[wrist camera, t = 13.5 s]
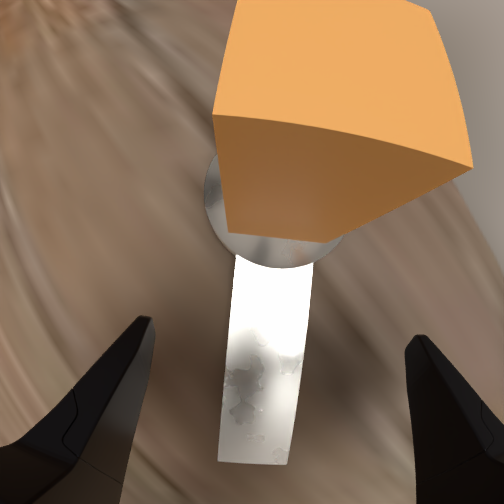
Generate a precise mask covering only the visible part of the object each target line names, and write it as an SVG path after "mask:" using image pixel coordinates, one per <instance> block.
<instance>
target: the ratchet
mask: <svg viewBox="0 0 504 504" xmlns="http://www.w3.org/2000/svg"><path fill="white" fill-rule="evenodd" d="M204 202H205V207H206V212H207V215H208V218H209V221H210V223H211V226H212V228H213V230H214V232H215V234H216V236H217V237H218V239H219V240H220V241H221V243H222V244H223V245H224V246H225V247H226V248H227V250H228V251H230V252H231V253H232V254H233V255H234V256H236V265H235V275H234V285H233V294H232V304H231V314H230V325H229V335H228V346H227V356H226V367H225V378H224V389H223V400H222V412H221V424H220V436H219V448H218V460H217V461H221V462H233V463H247V464H274V465H287V461H288V455H289V450H290V444H291V438H292V432H293V426H294V420H295V413H296V407H297V400H298V394H299V387H300V379H301V372H302V364H303V356H304V348H305V340H306V331H307V322H308V313H309V303H310V293H311V282H312V270H313V262H315V261H317V260H319V259H321V258H323V257H324V256H325V255H327V254H328V253H329V252H331V251H332V250H333V249H334V248H335V247H336V246H337V245H338V244H339V242H340V241H341V239H342V238H343V237H344V235H345V234H344V235H342V236H340V237H338V238H336V239H334V240H332V241H330V242H328V243H326V244H325V243H317V242H308V241H299V240H291V239H282V238H273V237H264V236H255V235H246V234H237V233H228V228H227V221H226V214H225V206H224V199H223V192H222V185H221V177H220V170H219V163H218V155H217V154H216V155H215V157H214V159H213V160H212V162H211V164H210V166H209V169H208V172H207V175H206V179H205V185H204Z"/></svg>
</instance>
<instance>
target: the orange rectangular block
mask: <svg viewBox="0 0 504 504" xmlns="http://www.w3.org/2000/svg"><path fill="white" fill-rule="evenodd" d="M212 116H213V124H214V132H215V140H216V147H217V155H218V163H219V170H220V177H221V185H222V192H223V199H224V206H225V214H226V221H227V228H228V233H237V234H246V235H255V236H264V237H273V238H282V239H291V240H299V241H308V242H317V243H325V244H326V243H328V242H330V241H332V240H334V239H336V238H338V237H340V236H342V235H344V234H346V233H348V232H350V231H352V230H354V229H356V228H358V227H360V226H362V225H364V224H366V223H368V222H370V221H372V220H374V219H376V218H378V217H380V216H382V215H384V214H386V213H388V212H390V211H392V210H394V209H396V208H398V207H400V206H402V205H404V204H406V203H408V202H410V201H412V200H413V199H415V198H417V197H419V196H421V195H423V194H425V193H427V192H429V191H431V190H433V189H435V188H437V187H439V186H441V185H442V184H444V183H446V182H448V181H450V180H452V179H454V178H456V177H458V176H459V175H461V174H463V173H465V172H467V171H469V170H471V169H473V163H472V156H471V150H470V144H469V138H468V133H467V127H466V123H465V118H464V114H463V109H462V105H461V101H460V97H459V94H458V89H457V86H456V82H455V79H454V76H453V72H452V69H451V66H450V63H449V60H448V57H447V54H446V51H445V48H444V45H443V42H442V40H441V37H440V34H439V32H438V29H437V27H436V24H435V22H434V20H433V17H432V15H431V12H430V11H429V10H427V9H425V8H422V7H420V6H418V5H415V4H413V3H410V2H408V1H405V0H238V1H237V5H236V9H235V13H234V17H233V21H232V25H231V29H230V33H229V38H228V42H227V46H226V51H225V55H224V60H223V64H222V69H221V73H220V78H219V83H218V88H217V93H216V98H215V103H214V108H213V113H212Z"/></svg>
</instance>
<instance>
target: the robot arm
mask: <svg viewBox="0 0 504 504" xmlns="http://www.w3.org/2000/svg"><path fill="white" fill-rule="evenodd" d="M154 343H155V328H154V324H153V319H152V318H151V317H149V316H142V315H141V316H139V317H137V318H136V319H135V321H134V322H133V323H132V324H131V325H130V326H129V327H128V328H127V329H126V330H125V331H124V332H123V333H122V334H121V335H120V336H119V338H118V339H117V340H116V341H115V342H114V343H113V344H112V345H111V346H110V347H109V348H108V349H107V351H106V352H105V353H104V354H103V355H102V356H101V357H100V358H99V359H98V360H97V361H96V362H95V364H94V365H93V366H92V367H91V368H90V369H89V370H88V371H87V372H86V374H85V375H84V376H83V377H82V378H81V379H80V380H79V381H78V382H77V384H76V385H75V386H74V387H73V389H71V390H70V391H69V392H68V394H67V395H66V396H65V397H64V398H63V399H62V400H61V401H60V402H59V403H58V404H57V405H56V406H55V407H54V408H53V409H52V410H51V411H50V412H49V413H48V414H47V415H46V416H45V417H44V418H43V419H42V420H40V421H39V422H38V423H37V424H36V425H35V426H34V427H33V428H32V429H30V430H29V431H28V432H27V433H26V434H25V435H24V436H23V437H21V438H20V439H19V440H17V441H15V442H14V443H12V444H9V445H6V446H3V447H0V504H119V502H120V497H121V492H122V487H123V482H124V477H125V473H126V468H127V464H128V459H129V455H130V451H131V446H132V442H133V438H134V434H135V430H136V426H137V422H138V418H139V414H140V410H141V406H142V403H143V399H144V395H145V391H146V388H147V384H148V380H149V374H150V368H151V361H152V355H153V349H154ZM405 367H406V384H407V394H408V401H409V409H410V417H411V425H412V435H413V445H414V457H415V472H416V504H504V425H503V423H502V422H501V421H500V420H499V419H498V418H497V417H496V416H495V415H494V414H493V412H492V411H491V410H490V409H489V408H488V406H487V405H486V404H485V403H484V401H483V400H481V398H480V397H479V395H478V394H477V393H476V392H475V391H474V389H473V388H472V387H471V386H470V385H469V383H468V382H467V381H466V380H465V379H464V377H463V376H462V375H461V374H460V373H459V372H458V370H457V369H456V368H455V367H454V366H453V365H452V363H451V362H450V361H449V360H448V359H447V358H446V357H445V355H444V354H443V353H442V352H441V351H440V350H439V349H438V348H437V346H436V345H435V344H434V343H433V342H432V341H431V340H430V339H429V338H428V337H427V336H426V335H415V336H414V337H413V339H412V340H411V341H410V343H409V344H408V345H407V347H406V349H405Z"/></svg>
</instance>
